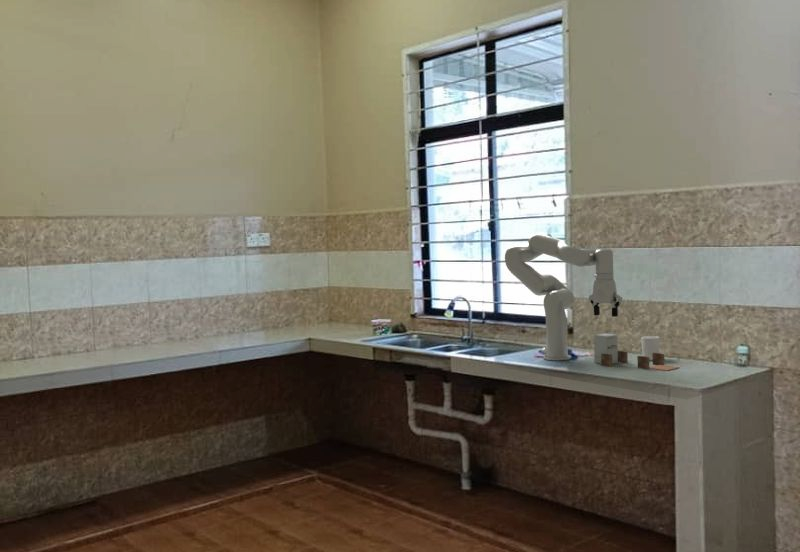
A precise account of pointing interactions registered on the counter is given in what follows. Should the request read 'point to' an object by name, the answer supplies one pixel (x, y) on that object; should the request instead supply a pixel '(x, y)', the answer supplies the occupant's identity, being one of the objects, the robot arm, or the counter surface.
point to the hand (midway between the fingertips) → (605, 315)
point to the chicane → (642, 360)
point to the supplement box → (605, 347)
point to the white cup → (650, 346)
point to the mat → (663, 367)
